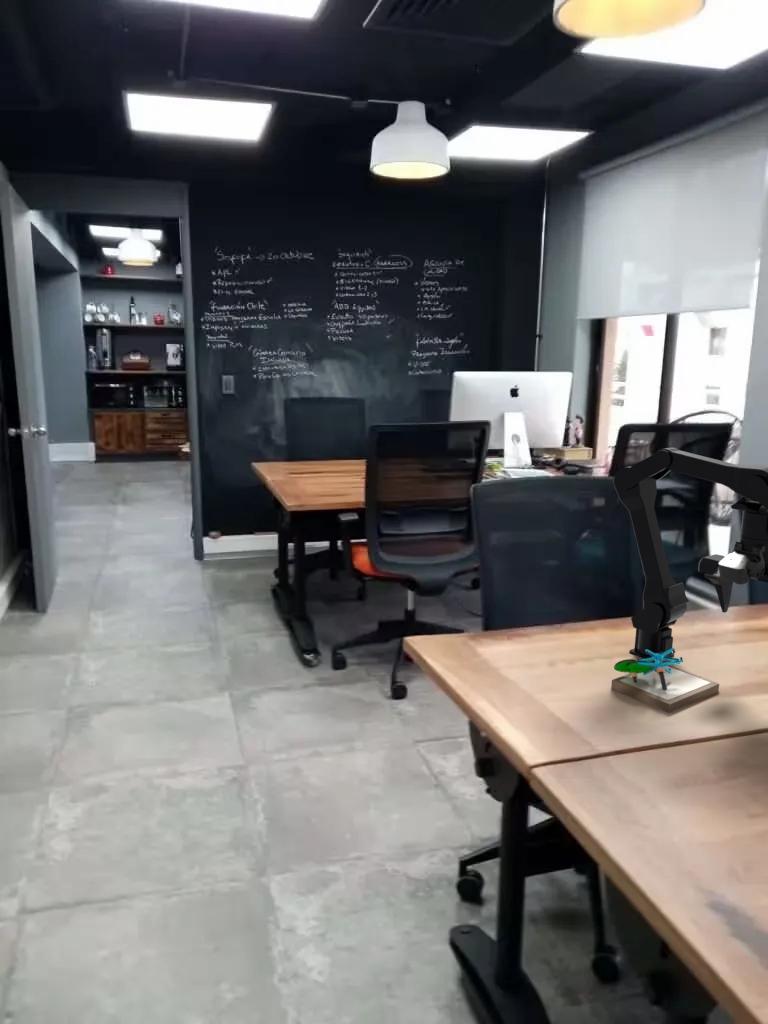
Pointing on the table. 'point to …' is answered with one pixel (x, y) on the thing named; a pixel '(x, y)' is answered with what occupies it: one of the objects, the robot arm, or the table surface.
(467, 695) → the table surface
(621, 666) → the stick construction toy
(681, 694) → the walnut framed pale panel
